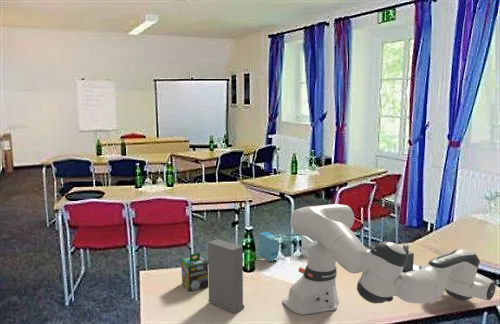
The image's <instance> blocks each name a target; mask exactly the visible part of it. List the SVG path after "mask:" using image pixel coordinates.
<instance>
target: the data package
mask: <svg viewBox="0 0 500 324" xmlns="http://www.w3.org/2000/svg"><path fill="white" fill-rule="evenodd" d="M275 237H277V236H276V235H274V234H272V233H271V232H269V231H264V232H259V234H258V255H259V256H260V257H261V258H263V259H264V260H266V261H267V260H268V261H267V262H269V261H271V262H273V261H272V260H274V259H275V258H277V256H278V257H279V242H278V243H277V242H276V241H275V240H274V238H275Z"/></svg>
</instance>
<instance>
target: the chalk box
mask: <svg viewBox="0 0 500 324" xmlns="http://www.w3.org/2000/svg"><path fill="white" fill-rule="evenodd" d="M180 263H181V264H180V265H181V267H180V268H181V284H182V285H183V286H184V287H185V288H186V289H187V290H188V291H189V292H191V291H192V292H193V291H197V290H201V289H206V288H209V271H208V260H206V259H205V258H204V257H203V256H202V255H201V252H196V253H191V254H190V255H189V257H186V258H181V260H180Z"/></svg>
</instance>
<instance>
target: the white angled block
mask: <svg viewBox="0 0 500 324" xmlns="http://www.w3.org/2000/svg"><path fill="white" fill-rule="evenodd" d="M313 241H314V239H312V238H309V237H307V236H304V235H301V248H300V249H301V253H302V254H303V255H302V256H306V257H307V256H308V247H309V245H310V244H311V243H312V242H313Z"/></svg>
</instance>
